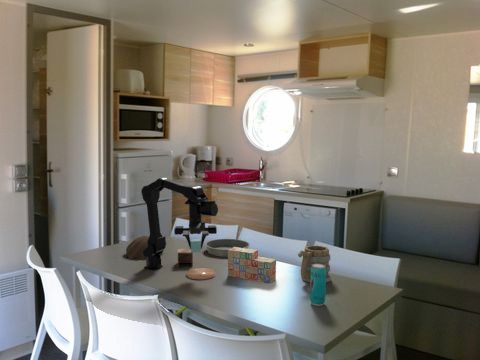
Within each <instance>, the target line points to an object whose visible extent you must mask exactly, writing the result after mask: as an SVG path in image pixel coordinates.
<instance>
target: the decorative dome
mask: <svg viewBox="0 0 480 360" xmlns="http://www.w3.org/2000/svg"><path fill="white" fill-rule="evenodd" d="M149 236H150V235H142V236H139V237H137V238H135V239H133V240H132V241H131V242H130V243H129V244H128V245H127V247H126V249H125V252H126V253H125V257H128V258H129V259H131V258H133V259H134V258H138V259H139V260H146V256H144V255H143V251H144V250H145V249H146V248H147V243H148V238H149ZM159 255H161V256H163V253H162V254H159Z"/></svg>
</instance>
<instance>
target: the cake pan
mask: <svg viewBox="0 0 480 360" xmlns="http://www.w3.org/2000/svg"><path fill="white" fill-rule="evenodd" d="M250 245H251V244H250V242H248V241H246V240H242V239H238V238H237V239H236V238H217V239H216V238H215V239H211V240H208V241H206V242H204V246H205V247H206V249H207V253H208V254H210V255H211V256H217V257H224V256H225V257H227V258H228V250H229V249H230V248H227V247H231V248H233V247H239V248H246V249H249V247H251V246H250Z"/></svg>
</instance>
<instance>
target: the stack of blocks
mask: <svg viewBox="0 0 480 360" xmlns="http://www.w3.org/2000/svg"><path fill="white" fill-rule="evenodd" d="M228 249H229V250H228V257H227V276H229V277H234V278H238V279H239V278H240V279H244V280H245V279H246V280H252V281H257V282H262V283H268V284H271V283H273V282H274V281H275V280H276V278H277V274H276V273H277V259H276V258H269V257H263V256H259V255H258V254H259V250H258V249H255V248H254V249H253V248H248V249H246V248H239V247H231V248H228Z"/></svg>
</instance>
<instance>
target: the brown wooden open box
mask: <svg viewBox="0 0 480 360" xmlns="http://www.w3.org/2000/svg"><path fill="white" fill-rule="evenodd" d="M193 256H194V252H191V249H190V248H178V249H177V267H178V268H179V266H180V265H179V264H180V263H181V264H182V263H185V264H187V263H189V264H190V263H191V267H194V263H193V262H194V261H193V260H194V259H193V258H194V257H193Z"/></svg>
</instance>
